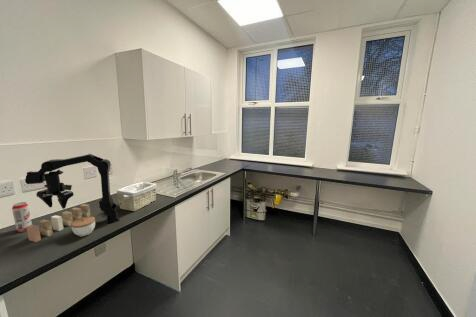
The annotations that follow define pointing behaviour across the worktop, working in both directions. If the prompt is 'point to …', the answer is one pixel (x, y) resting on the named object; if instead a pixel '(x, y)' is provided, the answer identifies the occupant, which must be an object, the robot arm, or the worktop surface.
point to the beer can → (21, 216)
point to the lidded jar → (83, 226)
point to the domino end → (33, 233)
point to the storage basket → (136, 195)
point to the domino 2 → (57, 222)
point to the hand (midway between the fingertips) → (57, 207)
